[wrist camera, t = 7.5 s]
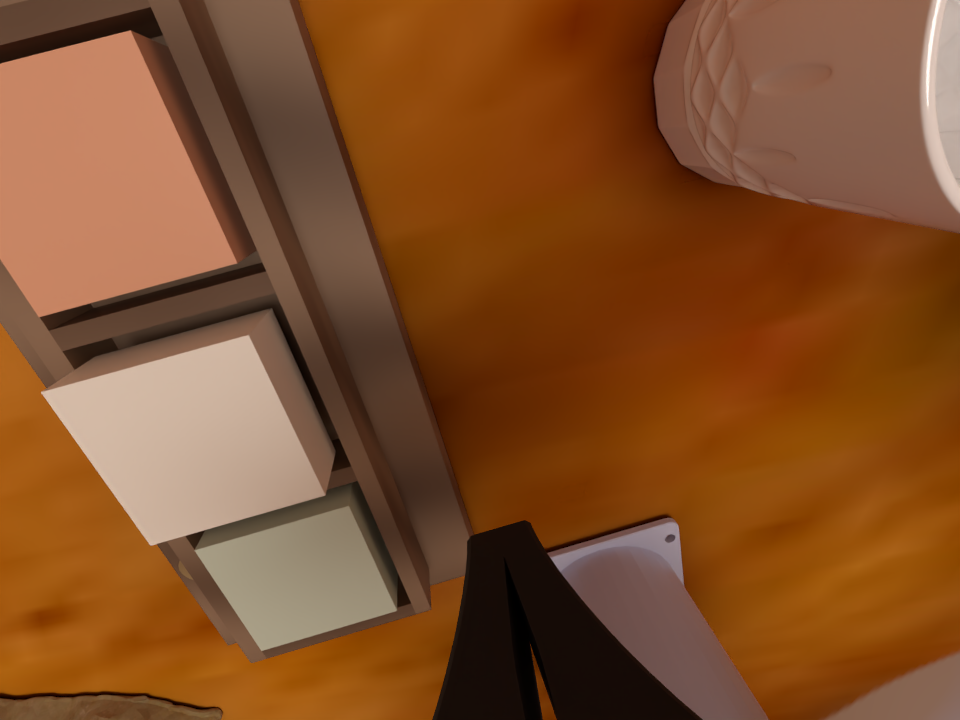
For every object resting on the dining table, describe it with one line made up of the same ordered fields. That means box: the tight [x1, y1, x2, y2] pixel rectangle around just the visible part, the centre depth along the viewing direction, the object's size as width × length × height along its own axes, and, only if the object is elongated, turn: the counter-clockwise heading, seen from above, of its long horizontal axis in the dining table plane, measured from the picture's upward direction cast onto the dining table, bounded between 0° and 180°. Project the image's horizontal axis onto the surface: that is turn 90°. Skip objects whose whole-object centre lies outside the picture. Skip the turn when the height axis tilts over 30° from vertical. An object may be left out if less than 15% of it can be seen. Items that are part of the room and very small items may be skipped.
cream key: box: [41, 308, 336, 546], centre depth 14 cm, size 5×5×2 cm
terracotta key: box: [0, 30, 257, 317], centre depth 12 cm, size 5×5×2 cm
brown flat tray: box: [0, 0, 474, 663], centre depth 16 cm, size 22×11×4 cm, turn 14°
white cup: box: [653, 0, 960, 234], centre depth 12 cm, size 8×8×10 cm
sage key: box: [194, 481, 398, 651], centre depth 17 cm, size 5×5×2 cm
